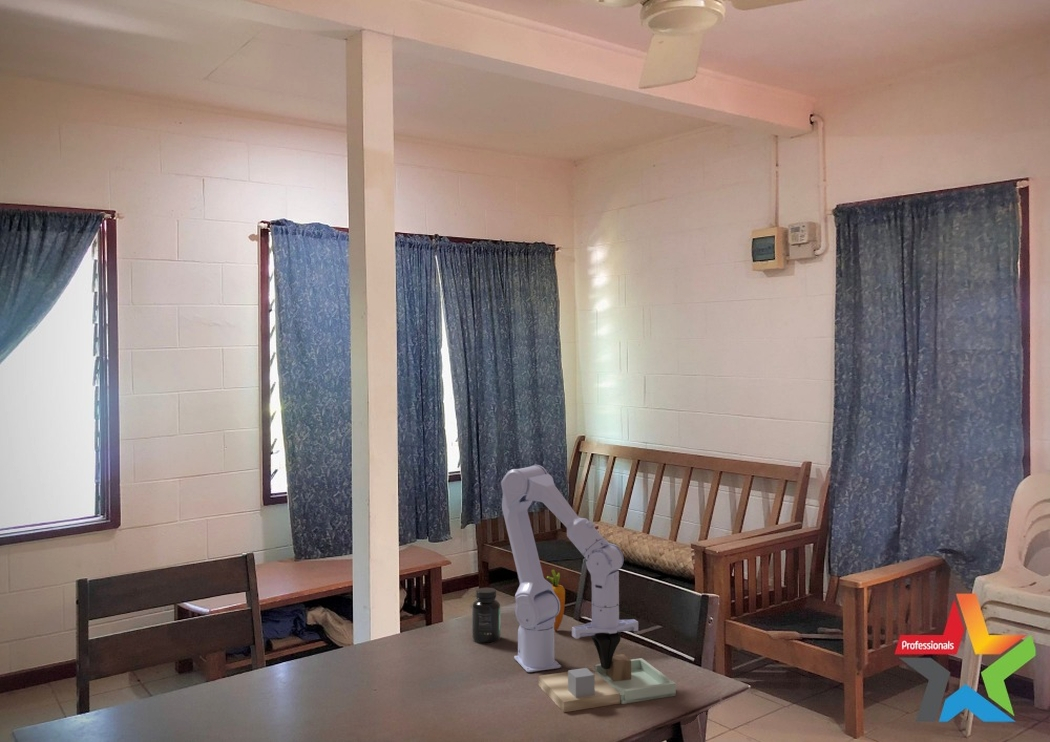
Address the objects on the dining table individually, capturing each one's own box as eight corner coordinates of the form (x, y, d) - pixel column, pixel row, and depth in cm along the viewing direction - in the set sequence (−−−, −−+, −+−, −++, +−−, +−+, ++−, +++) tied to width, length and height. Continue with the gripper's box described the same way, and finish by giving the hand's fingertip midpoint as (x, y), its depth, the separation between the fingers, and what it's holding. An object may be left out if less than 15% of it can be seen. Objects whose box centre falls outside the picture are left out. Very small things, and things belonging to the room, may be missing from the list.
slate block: (568, 690, 169) (568, 670, 169) (586, 687, 171) (586, 667, 170) (575, 697, 165) (575, 677, 165) (594, 695, 167) (594, 674, 167)
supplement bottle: (506, 638, 206) (506, 589, 205) (486, 646, 201) (486, 596, 200) (486, 632, 210) (485, 584, 210) (466, 639, 205) (466, 590, 205)
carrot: (563, 634, 208) (563, 574, 208) (544, 633, 209) (543, 573, 209) (566, 628, 213) (566, 568, 213) (547, 626, 214) (547, 568, 214)
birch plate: (538, 685, 177) (538, 675, 177) (591, 677, 181) (591, 668, 181) (563, 712, 164) (563, 702, 164) (619, 703, 168) (619, 693, 168)
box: (591, 676, 181) (591, 665, 181) (641, 669, 185) (641, 658, 185) (622, 704, 167) (622, 691, 167) (675, 695, 171) (675, 683, 171)
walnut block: (606, 656, 181) (623, 654, 182) (606, 674, 181) (623, 672, 182) (613, 662, 177) (631, 660, 178) (613, 681, 177) (631, 679, 178)
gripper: (581, 612, 172) (581, 678, 172) (644, 605, 177) (645, 669, 177) (567, 603, 179) (568, 666, 179) (629, 596, 183) (629, 658, 184)
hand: (605, 667), depth 179 cm, fingers closed
